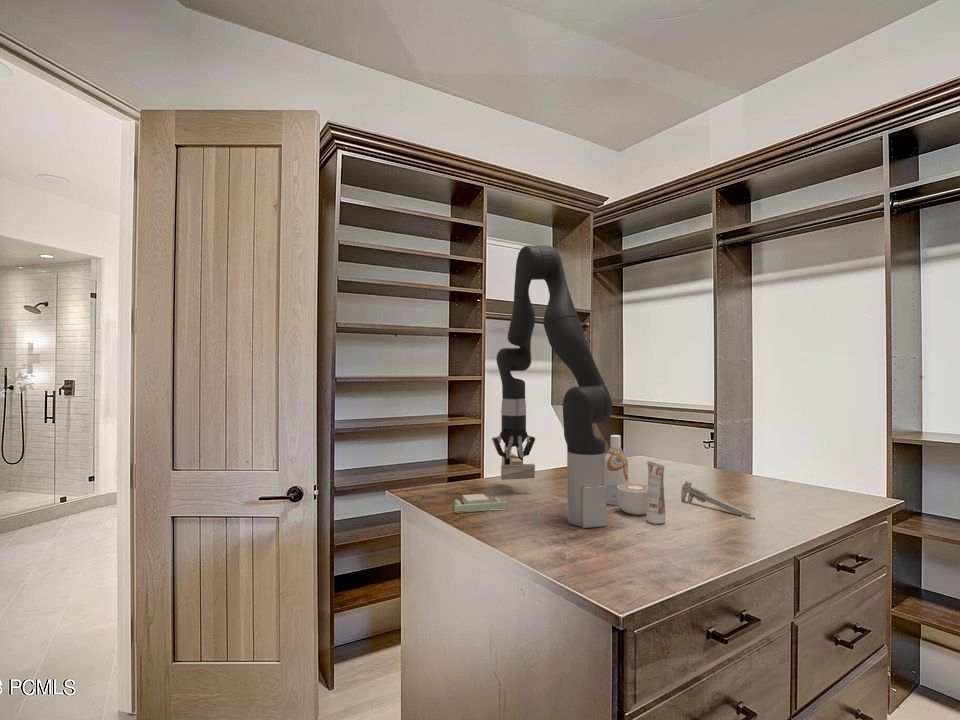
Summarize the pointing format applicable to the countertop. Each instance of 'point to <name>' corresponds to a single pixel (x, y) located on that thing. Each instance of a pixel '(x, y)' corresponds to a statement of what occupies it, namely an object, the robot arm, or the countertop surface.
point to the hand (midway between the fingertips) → (513, 469)
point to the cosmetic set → (634, 486)
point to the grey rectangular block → (516, 469)
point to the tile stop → (480, 505)
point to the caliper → (709, 499)
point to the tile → (475, 499)
